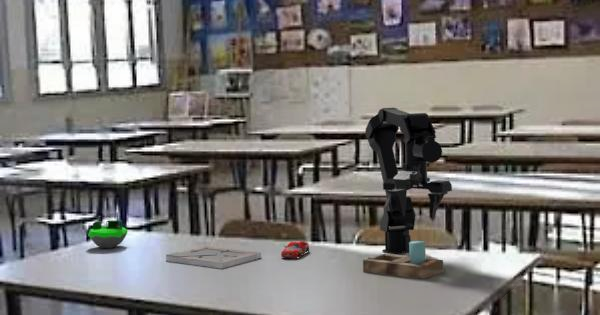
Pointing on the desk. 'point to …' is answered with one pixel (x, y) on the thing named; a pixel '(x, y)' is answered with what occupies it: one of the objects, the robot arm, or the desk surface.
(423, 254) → the teal rounded cylinder
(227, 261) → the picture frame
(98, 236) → the green grey rounded piece
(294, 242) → the race car
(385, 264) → the socket block
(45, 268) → the desk surface
